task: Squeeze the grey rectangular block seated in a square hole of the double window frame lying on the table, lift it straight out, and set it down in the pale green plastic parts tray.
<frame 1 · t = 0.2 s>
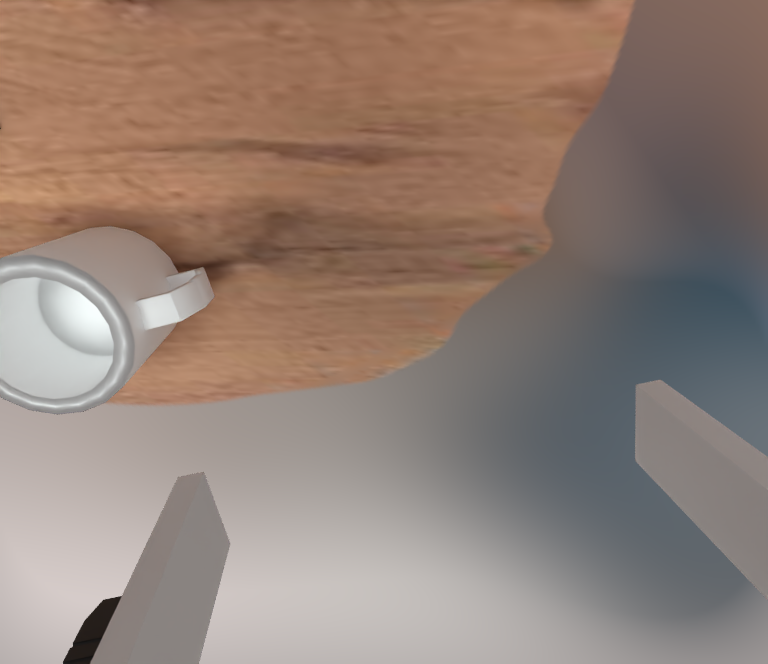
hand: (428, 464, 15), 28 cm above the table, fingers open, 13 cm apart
mug: (133, 289, 40), on the table
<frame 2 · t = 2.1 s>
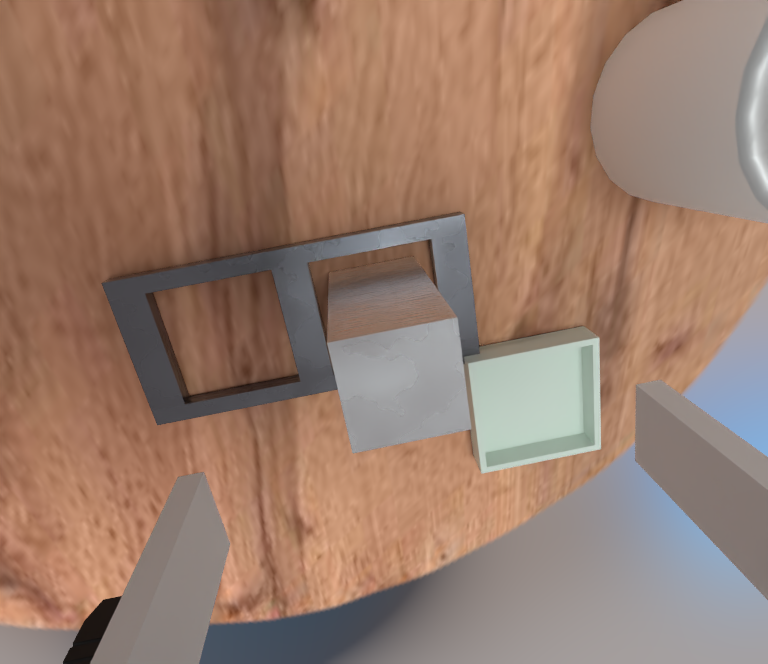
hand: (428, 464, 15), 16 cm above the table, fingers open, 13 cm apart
parts tray: (526, 393, 33), on the table
grey rectangular block: (378, 304, 30), resting in double window frame
mug: (681, 84, 27), on the table
double window frame: (304, 318, 30), on the table
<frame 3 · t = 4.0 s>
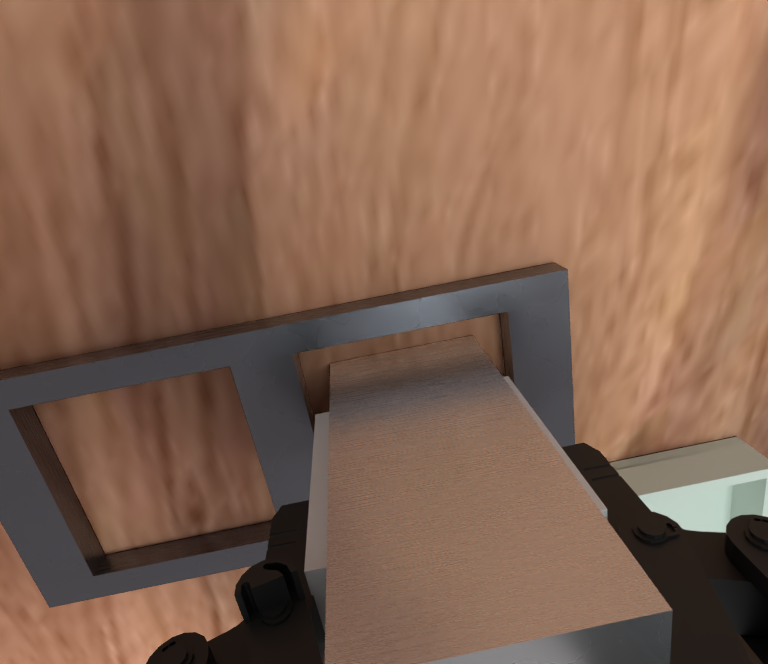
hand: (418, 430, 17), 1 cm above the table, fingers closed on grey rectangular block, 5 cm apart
parts tray: (638, 534, 21), on the table
grey rectangular block: (412, 411, 18), resting in double window frame, touching gripper
double window frame: (290, 436, 18), on the table
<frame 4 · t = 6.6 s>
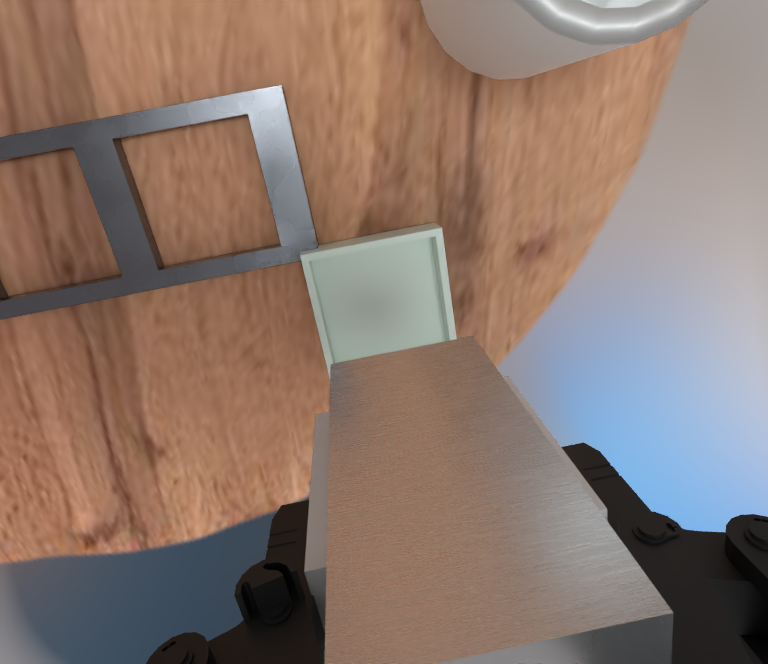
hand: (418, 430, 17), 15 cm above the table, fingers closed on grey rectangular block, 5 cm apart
parts tray: (380, 298, 31), on the table
grey rectangular block: (412, 412, 18), point 14 cm above the table, touching gripper
double window frame: (124, 209, 28), on the table
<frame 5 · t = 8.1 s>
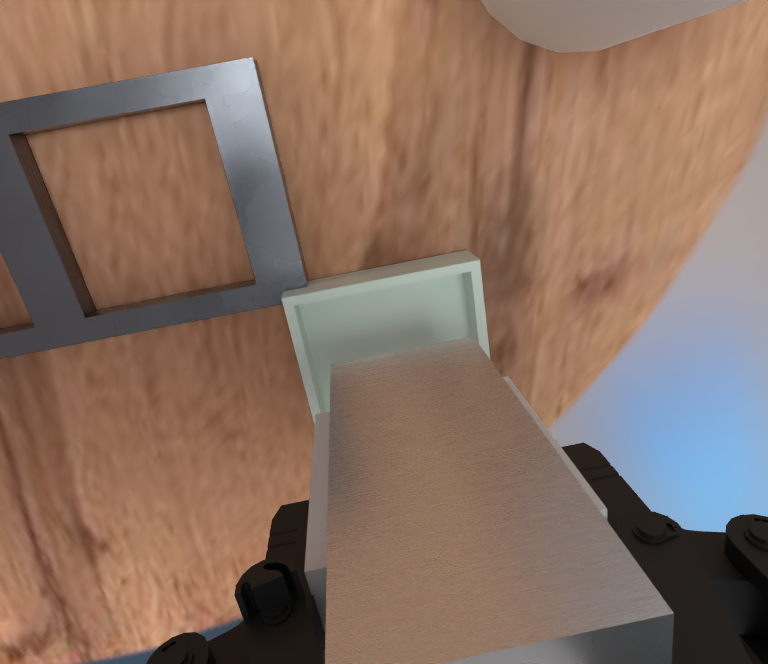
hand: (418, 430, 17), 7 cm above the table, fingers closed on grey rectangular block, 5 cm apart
parts tray: (392, 350, 23), on the table
grey rectangular block: (413, 412, 18), point 5 cm above the table, touching gripper
double window frame: (37, 232, 20), on the table
when the fingers open (2 cm above the table, at t = 9.2 s): grey rectangular block stays where it is, resting on parts tray.
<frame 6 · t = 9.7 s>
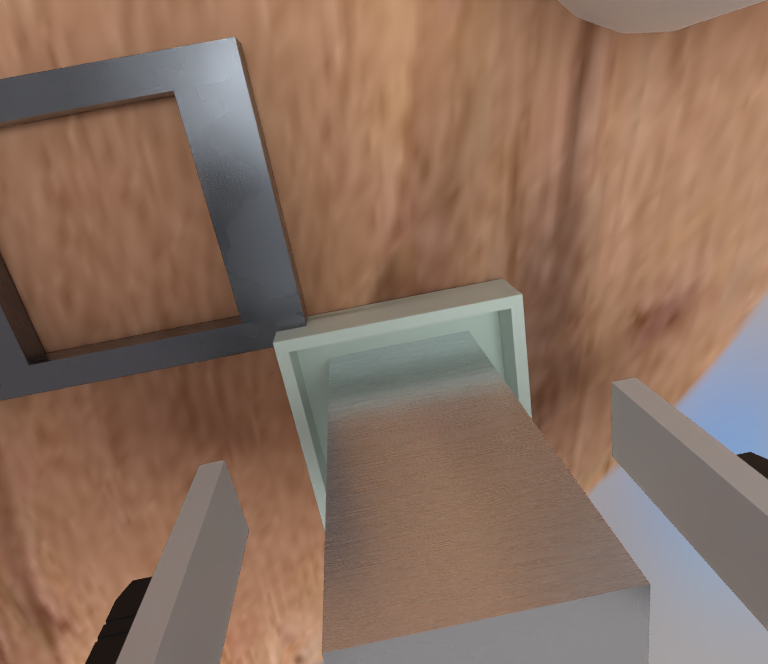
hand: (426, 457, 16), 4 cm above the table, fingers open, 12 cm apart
parts tray: (409, 399, 19), on the table
grey rectangular block: (410, 405, 19), resting on parts tray
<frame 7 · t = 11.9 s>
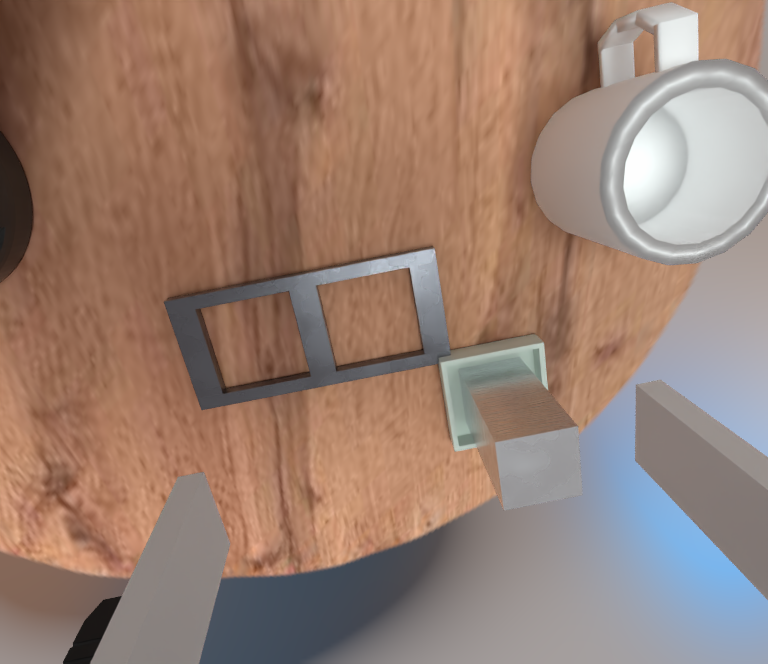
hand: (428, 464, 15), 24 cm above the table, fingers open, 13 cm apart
parts tray: (491, 387, 41), on the table
grey rectangular block: (492, 390, 41), resting on parts tray
mug: (600, 148, 36), on the table
double window frame: (314, 328, 39), on the table
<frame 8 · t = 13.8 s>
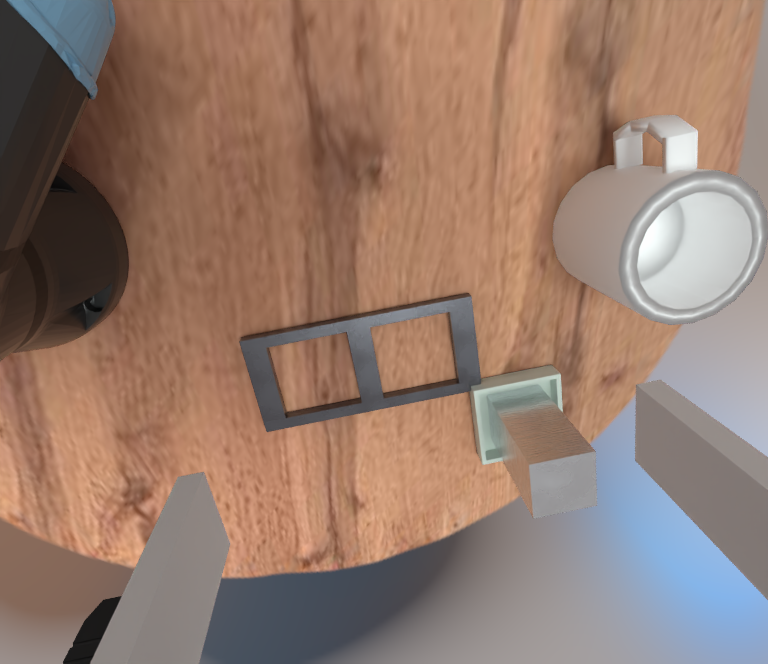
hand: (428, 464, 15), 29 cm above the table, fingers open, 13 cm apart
parts tray: (513, 409, 48), on the table
grey rectangular block: (514, 412, 48), resting on parts tray
mug: (611, 212, 43), on the table
double window frame: (365, 361, 45), on the table
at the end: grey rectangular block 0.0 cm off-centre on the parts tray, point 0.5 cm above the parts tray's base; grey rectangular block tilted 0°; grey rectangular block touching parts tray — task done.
